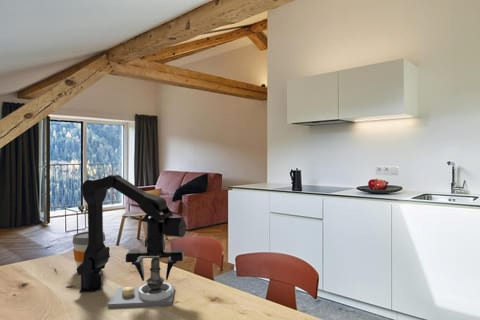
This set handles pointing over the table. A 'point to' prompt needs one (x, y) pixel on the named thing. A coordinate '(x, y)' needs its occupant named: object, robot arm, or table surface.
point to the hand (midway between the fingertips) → (155, 280)
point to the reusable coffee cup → (81, 246)
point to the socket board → (137, 300)
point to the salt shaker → (155, 277)
